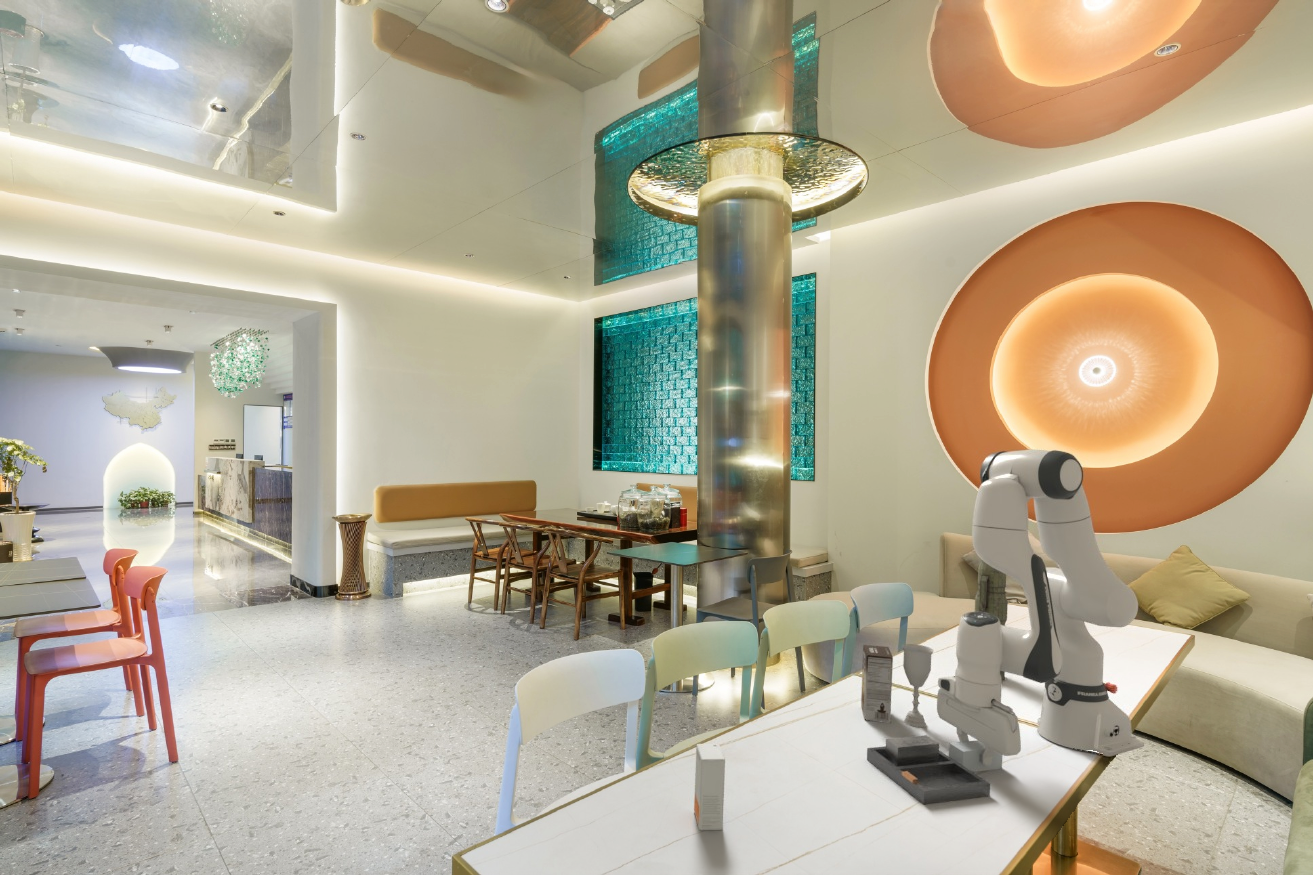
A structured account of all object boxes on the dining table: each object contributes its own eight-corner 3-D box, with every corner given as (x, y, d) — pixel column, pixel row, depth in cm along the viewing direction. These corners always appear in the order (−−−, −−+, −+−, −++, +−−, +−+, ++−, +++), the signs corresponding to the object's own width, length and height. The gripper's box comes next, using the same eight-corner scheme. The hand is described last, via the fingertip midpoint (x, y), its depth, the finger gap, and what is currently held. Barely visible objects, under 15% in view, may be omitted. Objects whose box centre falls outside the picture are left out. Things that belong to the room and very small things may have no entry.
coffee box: (860, 706, 169) (862, 643, 170) (886, 709, 168) (888, 646, 168) (863, 720, 160) (866, 654, 161) (891, 723, 159) (894, 656, 159)
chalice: (930, 719, 162) (932, 646, 163) (932, 730, 156) (934, 654, 156) (898, 714, 165) (901, 642, 165) (899, 725, 158) (902, 649, 159)
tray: (926, 753, 144) (927, 728, 144) (989, 795, 126) (990, 768, 127) (866, 759, 140) (867, 734, 140) (923, 804, 122) (924, 775, 122)
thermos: (1011, 675, 199) (1014, 559, 200) (998, 684, 191) (1002, 563, 192) (980, 668, 206) (983, 555, 206) (966, 676, 197) (970, 559, 198)
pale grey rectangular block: (987, 760, 142) (988, 739, 142) (1001, 768, 138) (1002, 747, 138) (948, 764, 139) (949, 742, 139) (962, 773, 135) (963, 751, 136)
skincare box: (693, 811, 117) (696, 742, 117) (716, 811, 117) (719, 743, 117) (698, 831, 110) (701, 759, 111) (723, 830, 111) (726, 759, 111)
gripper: (1030, 709, 130) (1027, 780, 130) (956, 674, 150) (954, 735, 149) (1004, 711, 128) (1001, 783, 128) (932, 676, 148) (930, 738, 148)
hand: (975, 757), depth 139 cm, fingers closed on pale grey rectangular block, 4 cm apart
